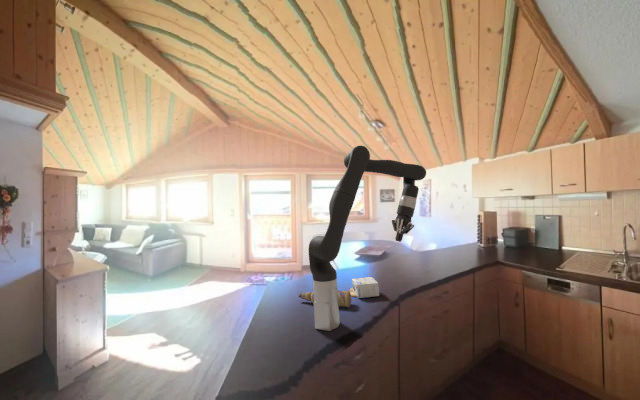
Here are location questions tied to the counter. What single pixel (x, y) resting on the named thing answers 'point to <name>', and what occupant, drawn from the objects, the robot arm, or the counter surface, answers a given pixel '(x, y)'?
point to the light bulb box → (365, 287)
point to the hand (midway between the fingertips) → (398, 241)
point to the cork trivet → (352, 293)
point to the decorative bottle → (343, 298)
